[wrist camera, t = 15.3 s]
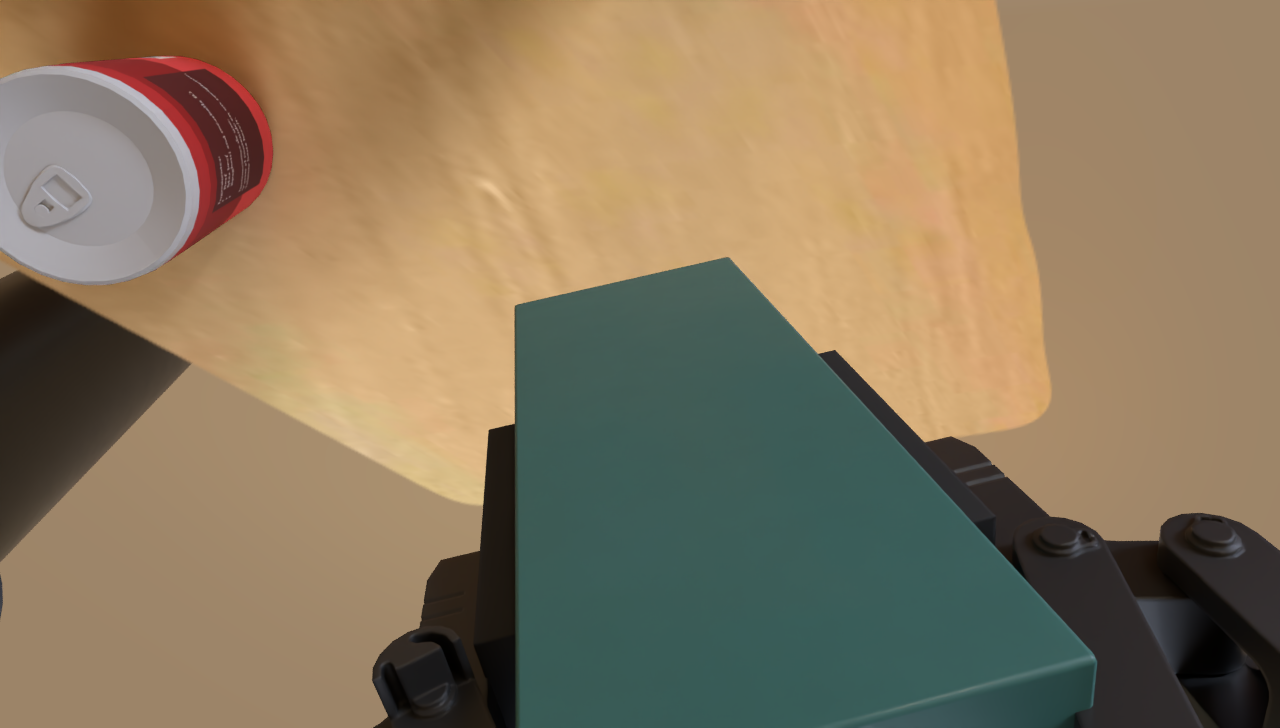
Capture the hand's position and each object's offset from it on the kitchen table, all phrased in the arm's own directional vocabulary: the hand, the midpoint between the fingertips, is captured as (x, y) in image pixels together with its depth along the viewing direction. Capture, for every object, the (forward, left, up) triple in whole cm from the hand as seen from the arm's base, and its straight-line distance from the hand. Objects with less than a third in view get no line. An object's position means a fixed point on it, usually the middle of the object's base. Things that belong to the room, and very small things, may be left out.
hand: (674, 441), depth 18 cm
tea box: (0, -2, +2) cm, 3 cm away
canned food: (-18, +7, -26) cm, 33 cm away
